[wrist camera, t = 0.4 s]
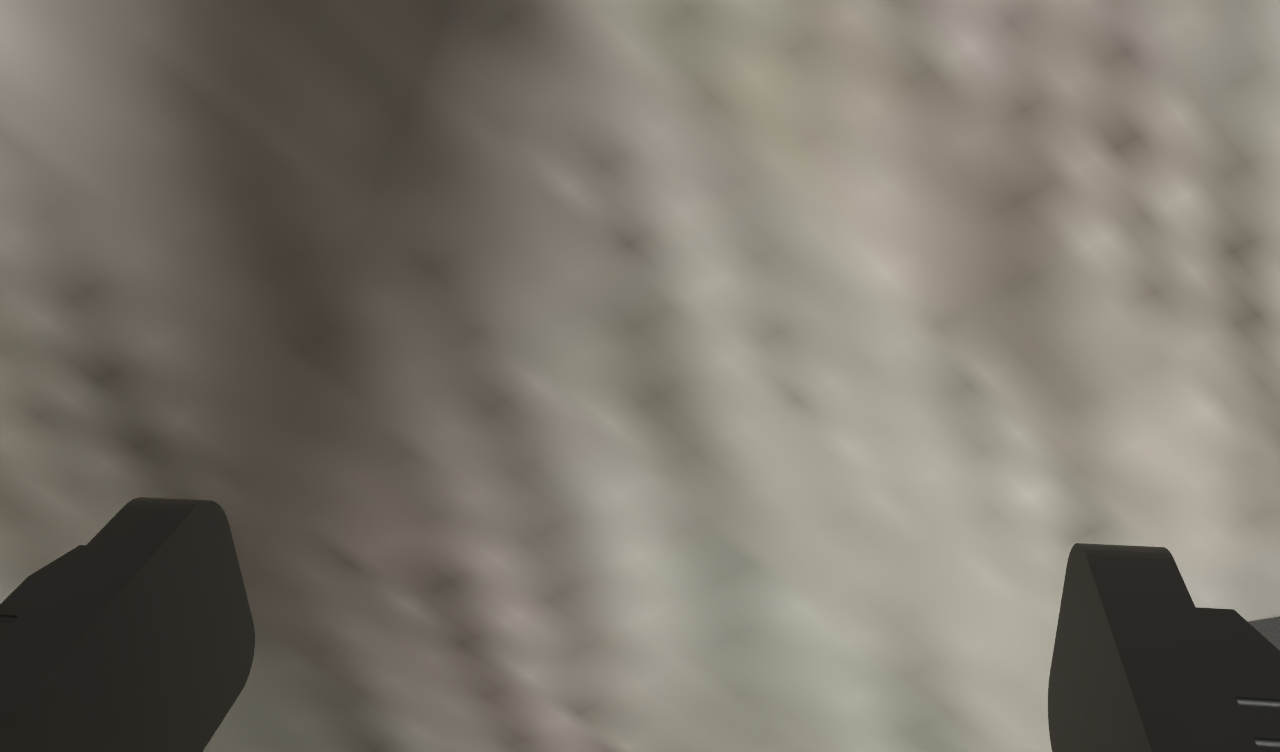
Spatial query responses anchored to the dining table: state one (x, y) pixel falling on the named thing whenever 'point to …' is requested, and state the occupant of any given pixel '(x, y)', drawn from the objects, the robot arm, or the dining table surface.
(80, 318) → the dining table surface
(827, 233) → the dining table surface
